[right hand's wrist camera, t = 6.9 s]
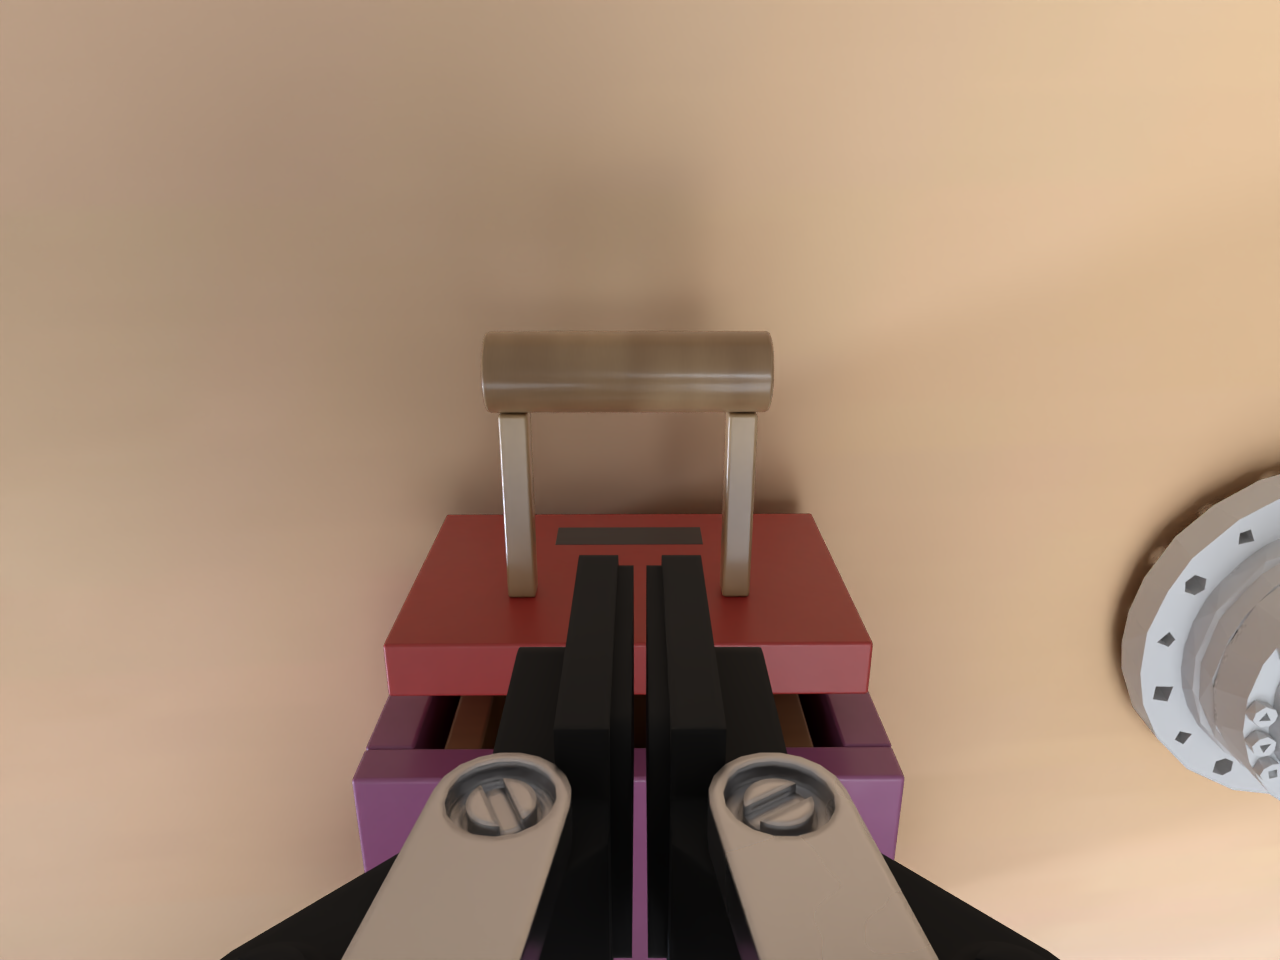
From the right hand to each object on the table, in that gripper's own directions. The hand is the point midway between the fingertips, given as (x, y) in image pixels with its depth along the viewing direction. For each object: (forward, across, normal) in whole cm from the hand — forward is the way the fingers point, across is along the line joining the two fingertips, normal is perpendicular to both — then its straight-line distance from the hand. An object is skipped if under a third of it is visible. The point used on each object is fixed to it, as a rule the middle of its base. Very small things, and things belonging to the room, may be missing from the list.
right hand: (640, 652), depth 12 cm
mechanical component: (+12, +19, -6) cm, 23 cm away
